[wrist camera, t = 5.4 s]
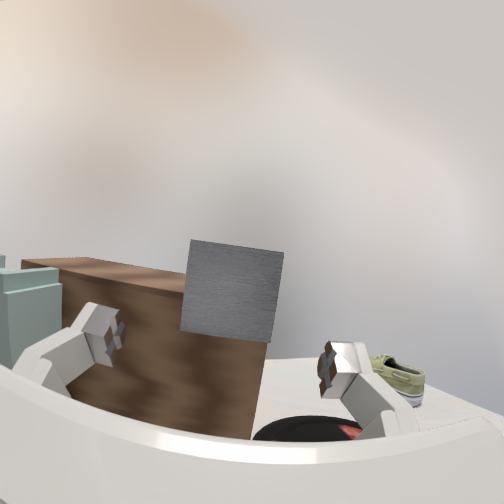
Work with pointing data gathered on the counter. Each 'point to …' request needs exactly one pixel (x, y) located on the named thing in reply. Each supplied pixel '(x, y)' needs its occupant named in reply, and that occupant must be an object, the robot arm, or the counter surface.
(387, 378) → the boat shoe
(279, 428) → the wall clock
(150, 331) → the brown wooden block
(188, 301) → the bar
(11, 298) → the socket post
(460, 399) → the counter surface
